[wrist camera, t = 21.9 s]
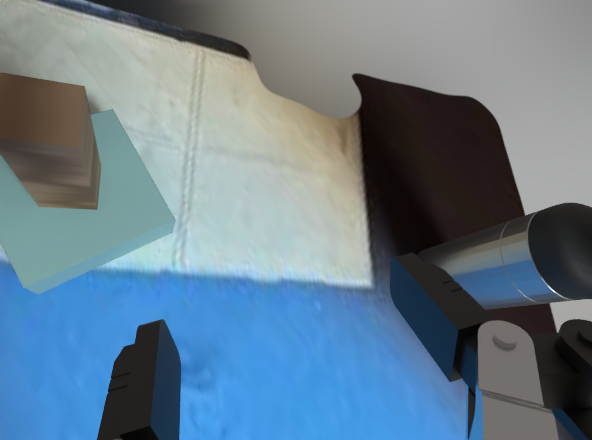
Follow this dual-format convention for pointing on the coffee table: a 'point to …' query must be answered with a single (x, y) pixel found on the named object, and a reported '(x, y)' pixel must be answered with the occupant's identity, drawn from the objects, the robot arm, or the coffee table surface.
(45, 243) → the teal block
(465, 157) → the coffee table surface
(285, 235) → the coffee table surface
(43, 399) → the coffee table surface
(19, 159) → the walnut pillar
